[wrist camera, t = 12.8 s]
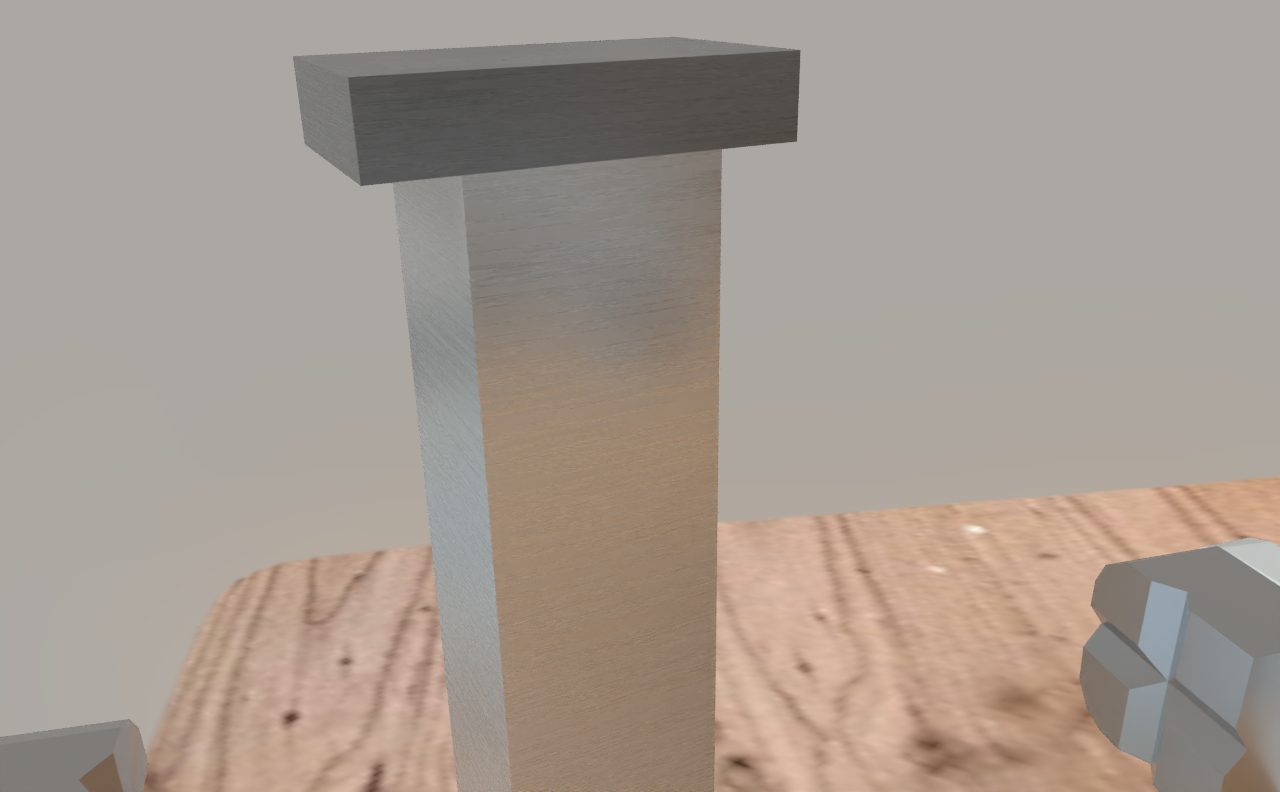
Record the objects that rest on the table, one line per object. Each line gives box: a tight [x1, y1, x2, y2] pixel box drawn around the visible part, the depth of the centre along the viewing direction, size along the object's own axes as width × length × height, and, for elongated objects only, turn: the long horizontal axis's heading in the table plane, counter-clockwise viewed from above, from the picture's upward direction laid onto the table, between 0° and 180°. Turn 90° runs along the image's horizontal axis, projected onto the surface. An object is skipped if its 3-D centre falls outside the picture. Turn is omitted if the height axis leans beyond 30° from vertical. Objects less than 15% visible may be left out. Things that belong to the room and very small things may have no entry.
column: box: [293, 37, 800, 792], centre depth 16 cm, size 5×3×20 cm, turn 116°
